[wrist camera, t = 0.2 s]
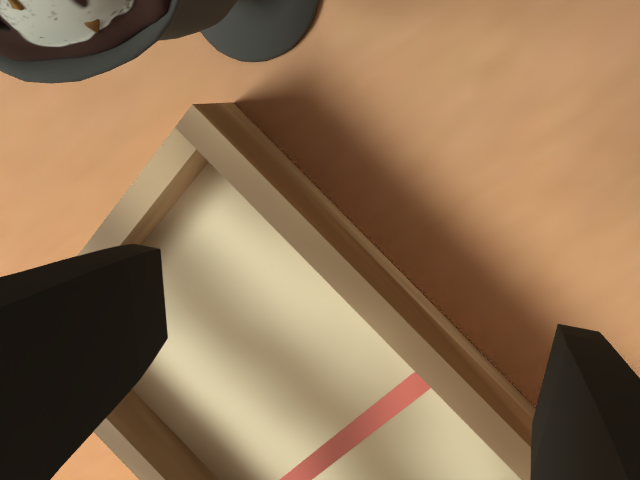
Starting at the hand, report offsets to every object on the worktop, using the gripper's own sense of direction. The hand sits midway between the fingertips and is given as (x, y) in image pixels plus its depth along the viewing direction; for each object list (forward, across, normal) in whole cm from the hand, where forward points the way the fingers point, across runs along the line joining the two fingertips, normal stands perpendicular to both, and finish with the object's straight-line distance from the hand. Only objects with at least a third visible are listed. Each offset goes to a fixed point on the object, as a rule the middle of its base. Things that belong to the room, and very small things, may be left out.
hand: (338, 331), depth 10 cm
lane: (+9, 0, +12) cm, 15 cm away
